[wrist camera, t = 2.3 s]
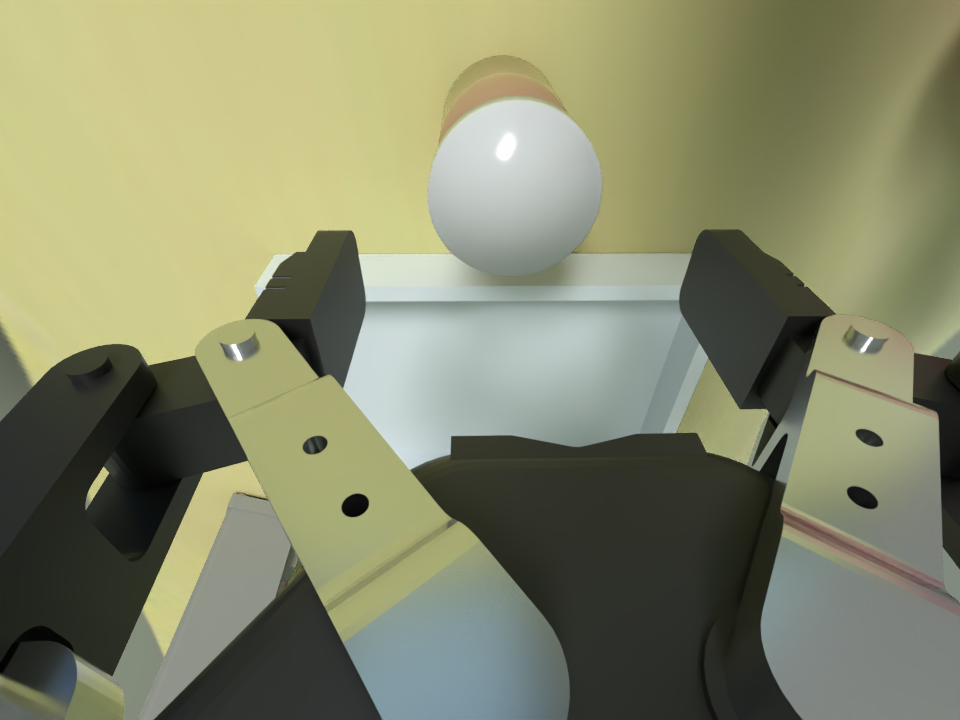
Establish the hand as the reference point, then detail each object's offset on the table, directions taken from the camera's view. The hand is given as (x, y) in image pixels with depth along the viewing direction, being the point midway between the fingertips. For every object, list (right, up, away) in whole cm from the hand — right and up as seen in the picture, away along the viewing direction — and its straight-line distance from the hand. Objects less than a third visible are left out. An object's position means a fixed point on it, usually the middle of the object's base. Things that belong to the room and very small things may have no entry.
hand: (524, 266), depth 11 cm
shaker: (0, +8, +8) cm, 11 cm away
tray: (0, -3, +17) cm, 18 cm away
